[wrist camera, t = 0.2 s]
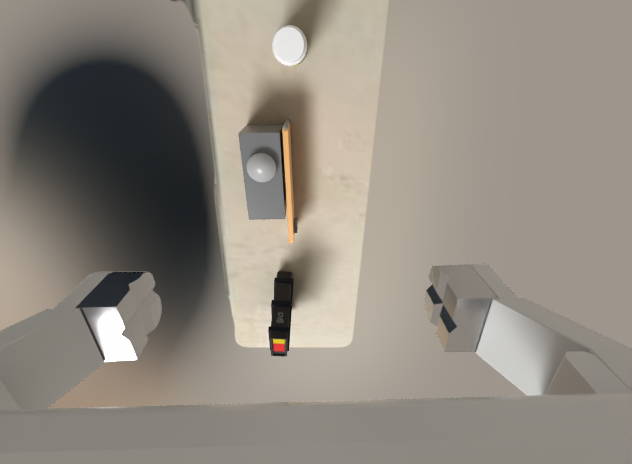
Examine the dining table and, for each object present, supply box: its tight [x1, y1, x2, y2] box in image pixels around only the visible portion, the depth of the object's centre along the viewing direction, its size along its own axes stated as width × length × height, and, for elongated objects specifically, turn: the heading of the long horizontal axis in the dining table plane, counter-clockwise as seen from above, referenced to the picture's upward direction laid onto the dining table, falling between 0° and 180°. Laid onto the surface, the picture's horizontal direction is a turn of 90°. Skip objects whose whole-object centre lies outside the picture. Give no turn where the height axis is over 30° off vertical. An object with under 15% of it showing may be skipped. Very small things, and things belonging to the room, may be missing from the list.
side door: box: [282, 119, 298, 243], centre depth 54 cm, size 20×1×6 cm, turn 1°
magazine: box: [268, 272, 293, 356], centre depth 64 cm, size 4×13×15 cm, turn 175°
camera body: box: [239, 125, 287, 220], centre depth 52 cm, size 14×6×8 cm, turn 1°
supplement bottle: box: [272, 25, 307, 66], centre depth 44 cm, size 5×5×8 cm
